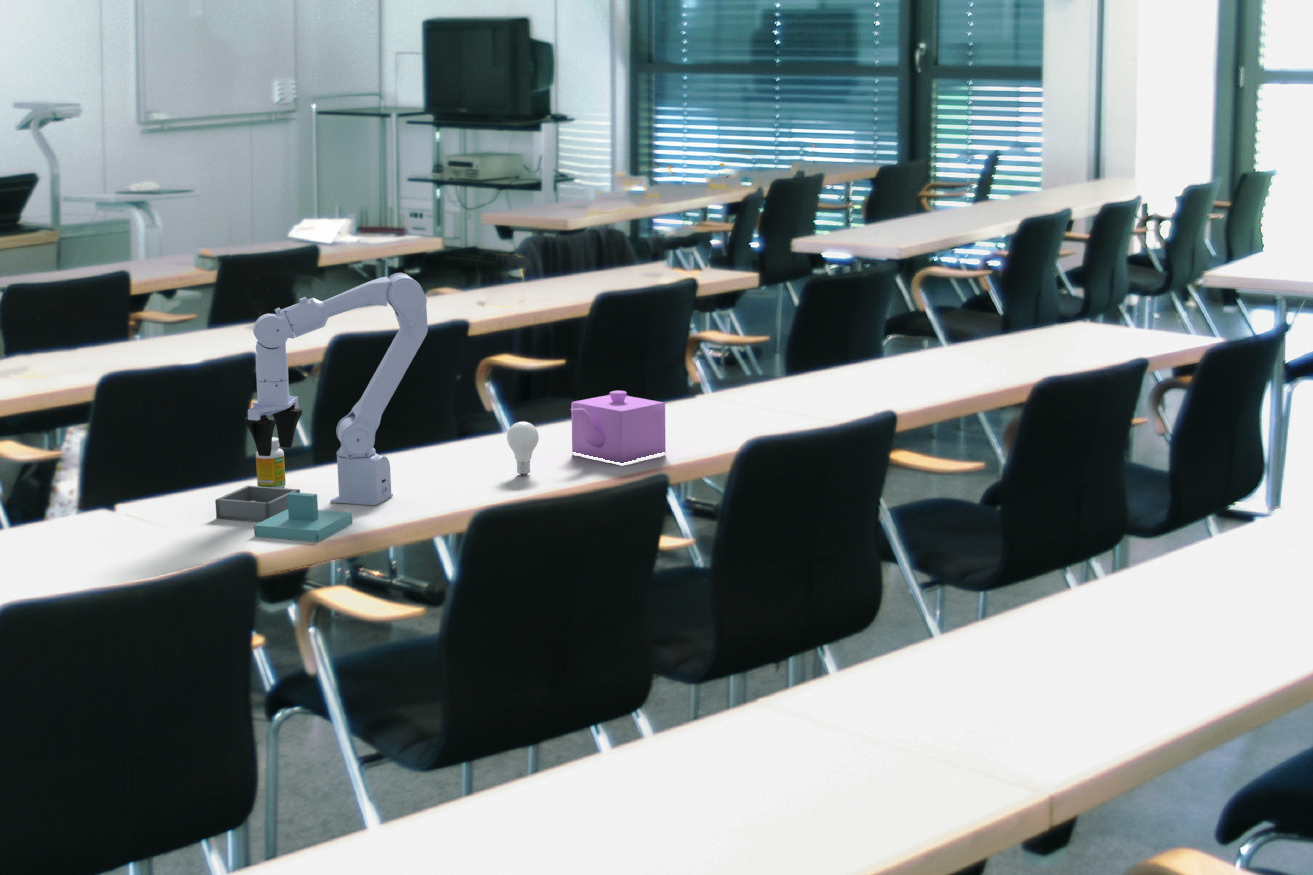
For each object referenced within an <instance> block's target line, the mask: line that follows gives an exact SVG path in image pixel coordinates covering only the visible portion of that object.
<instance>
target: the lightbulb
mask: <svg viewBox="0 0 1313 875" xmlns="http://www.w3.org/2000/svg"><path fill="white" fill-rule="evenodd" d="M506 440H507V444H508V446H509V448H510V449H511V450H512V453H513V455H514V458H515V461H516V473H517V474H519V475H520V474H522V475H521V476H526V475H528V474H530V473H531V459H532V457H533V456H532V455H533V452H534V451H535V449H536V448H537V445H538V442H539V432H538V430H537V428H536V427H535V425H533V424H532V423H531V422H528V421H518V422H515V423H513V424H512V425H511V426H510V427H509V428H508V431H507V433H506ZM525 474H526V475H525Z"/></svg>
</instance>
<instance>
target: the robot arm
mask: <svg viewBox="0 0 1313 875" xmlns="http://www.w3.org/2000/svg"><path fill="white" fill-rule="evenodd" d="M427 303H428V299H427V297H426V294H425V292H424V290H423V288H422V286H421V285H420V283H419V282H418V281H417V280H415V279H414V278H412V277H411V276H410V275H408V274H407V273H403V272H396V273H393V274H391V275H390V276H388V277H387V276H383V277H382V276H381V277H379V278H378V277H377V278H376V279H372V280H370V281H367V282H365V283H362V284H359V285H357V286H354V287H352V288H351V289H348V290H346V291H343V292H341V293H339V294H337V295H334V296H332V297H329V298H327V299H325V300H319V299H317V298H315V297H311V298H307V297H306V296H303V297H302V298H301V297H300V298H299V302H298V303H295V304H292V305H291V306H287V307H285V308H282V309H281V308H280V307H277V308H275V309H274V312H275V313H265V314H263V315H261V316H259V317H258V318H257V319H256V321H255V322H254V326H253V329H252V332H253V335H254V337H255V339H256V340H257V341H256V345H255V350H256V354H255V372H256V373H255V374H256V375H255V376H256V397H257V400H255V401H253V402H252V407H251V408H249V409H247V417H244V424H245V425H246V427H247V428H248V430H249V432H250V433H251V436H252V438H253V441H254V444H255V447H256V452H257V451H258V454H259V456H270V455H271V448H272V437H273V434H274V430H275V427H276V431H277V438H278V440H279V445H280V446H279V448H285V449H291V448H292V447H293V442H294V437H295V432H296V429H297V426H298V422H299V421H300V419H301V417H302V415H303V409H302V408H297V407H299V396H295V395H294V396H292V395H290V387H289V365H288V364H289V362H288V359H289V358H288V354H287V346H286V342H287V341H288V339H296V338H299V337H302V336H303V335H306V334H309V333H312V332H315V331H317V330H319V329H322V328H325V326H326V324H327V322H328V320H329V318H331V317H335V316H337V315H339V314H342V313H346V312H348V311H351V310H354V309H357V308H360V307H363V306H366V305H369V304H372V305H377V306H383V307H387V306H388V304H389V306H390V307H391V308H392V310H393V311H394V315H395V318H396V320H397V323H398V326H399V329H398V330H397V333H396V334H395V336H394V338H393V339H392V342H391V344H390V346H389V347H388V348H387V351H386V353H385V354H384V356H383V358H382V360H381V361H380V363H379V365H378V366H377V368H376V371H375V372H374V374H373V376H372V377H371V379H370V380H369V382H368V385H367V386H366V388H365V390H364V392H363V394H362V395H361V397H360V398H359V400H358V401H357V402H356V403H355V405H353V407H352V408H351V411H350V412H349V413H348V414H347V415H345V416H344V417H342V418H341V419H340V420H339V421H338V423H337V426H336V428H335V429H336V432H335V433H336V436H337V437H336V438H337V440H338V441H339V443H340V447H339V448H338V450H337V451H336V464H337V481H338V482H337V483H338V495H337V496H335V497H333V498H330V500H329V501H330V502H331V503H337V504H338V503H340V504H351V505H363V506H364V505H365V506H377V505H378V504H380V503H382V502H384V501H386V500H387V499H389V498H392V497H393V496H394V493H392V481H391V479H392V478H391V477H392V476H391V464H390V460H389V459H388V457H387V456H384V455H381V454H378V453H377V452H376V449H375V448H374V445H375V441H376V433H377V430H378V428H379V426H380V424H381V419H382V415H383V414H384V412H385V410H386V408H387V406H388V404H389V402H390V400H391V399H392V397H393V396H394V394H395V392H396V390H397V388H398V386H399V385H400V383H401V381H402V379H403V378H404V376H405V374H406V372H407V370H408V369H409V366H410V365H411V363H412V361H413V359H414V357H415V356H416V354H417V352H418V350H419V349H420V347H421V345H422V344H423V342H424V340H425V338H426V336H427V334H428V331H429V330H428V328H429V327H428V326H429V325H428V313H427ZM271 415H272V416H273V419H269V416H271Z"/></svg>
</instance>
